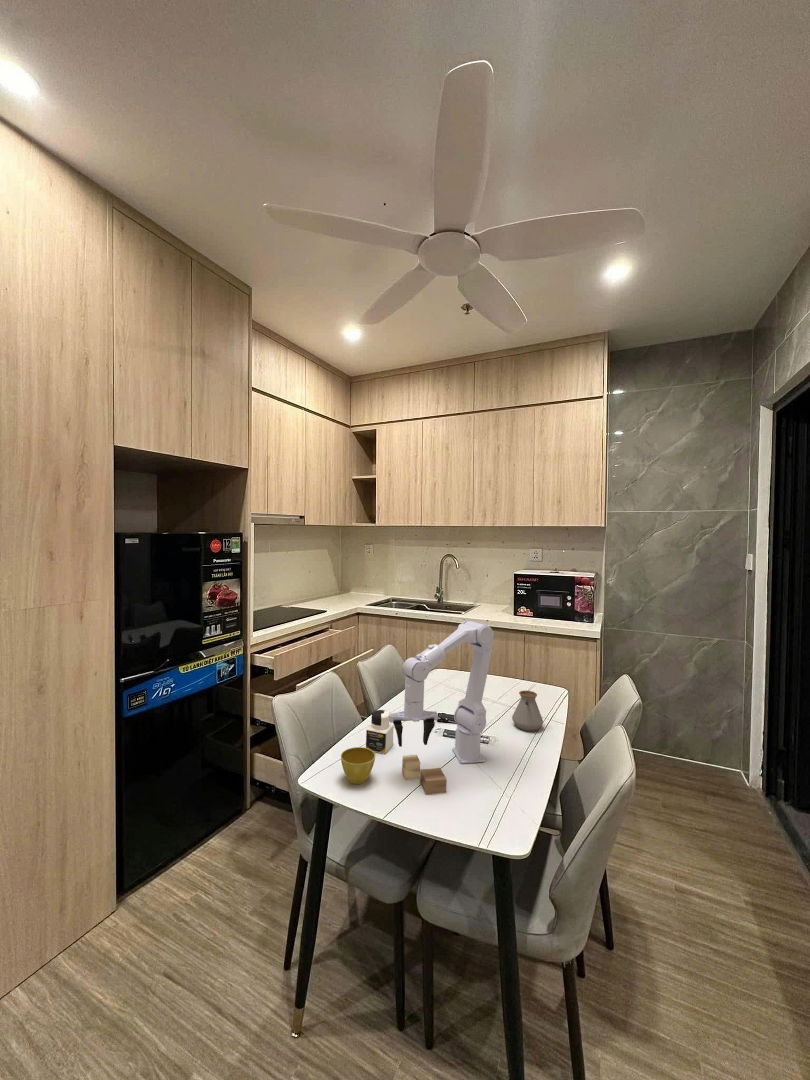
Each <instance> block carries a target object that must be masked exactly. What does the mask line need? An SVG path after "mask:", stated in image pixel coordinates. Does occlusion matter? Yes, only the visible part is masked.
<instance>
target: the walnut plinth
mask: <svg viewBox="0 0 810 1080" xmlns="http://www.w3.org/2000/svg"><path fill="white" fill-rule="evenodd" d="M419 783H420V785H421V787H422V790H423V793H424V794H425V795H436V794H446V793H447V778H446V776H445V774H444V772H443V770H442V768H441V767H437V768H436V767H435V768H434V767H433V768H423V769H420V779H419Z"/></svg>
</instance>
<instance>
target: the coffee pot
mask: <svg viewBox="0 0 810 1080" xmlns="http://www.w3.org/2000/svg"><path fill="white" fill-rule="evenodd" d="M518 694H519V695H520V697H521V698H520V700H519V701H518V704H517V706H516V707H515V710H514V712H513V714H512V716H511V718H512V721H513V723H514V724H515V726H516V727H517V728H518V729H520V730H523V731H524V732H525V731H527V732H535V731H537V730H538V729H540V728H541V727H542V726H543V724H544V720H543V717H542V715H541V712H540V709H539V706H538V703H537V701H536V698H537V697H538V694H537V693H536V692H535V691H531V690H521V691H518Z"/></svg>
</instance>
